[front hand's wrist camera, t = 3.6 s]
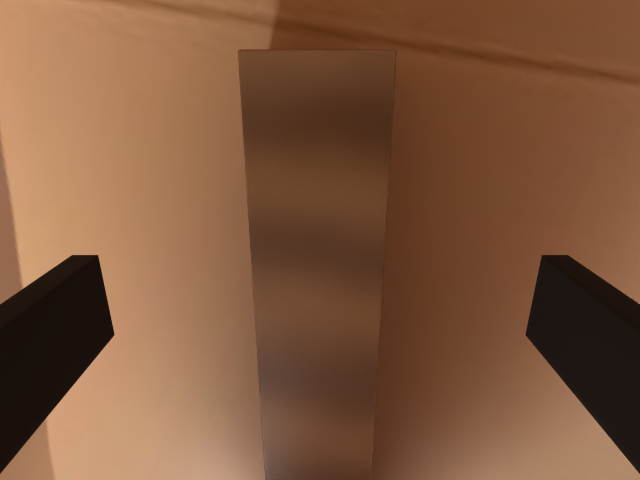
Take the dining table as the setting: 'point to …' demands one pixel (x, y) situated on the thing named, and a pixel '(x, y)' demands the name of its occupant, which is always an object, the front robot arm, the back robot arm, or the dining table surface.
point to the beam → (317, 250)
